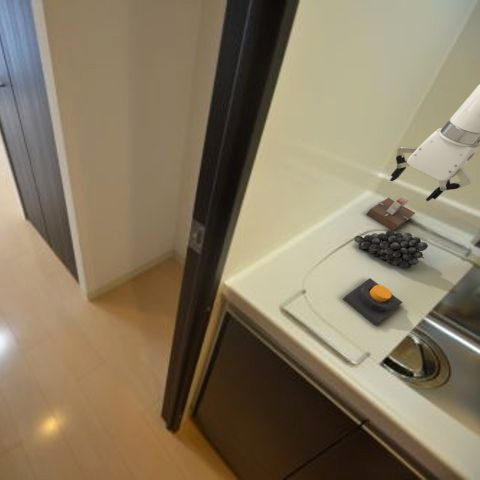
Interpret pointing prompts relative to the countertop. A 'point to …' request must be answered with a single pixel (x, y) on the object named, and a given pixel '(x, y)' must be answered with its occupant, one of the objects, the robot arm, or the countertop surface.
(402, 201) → the lock knob
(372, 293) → the bell button
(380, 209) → the lock plate
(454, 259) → the countertop surface
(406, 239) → the fruit
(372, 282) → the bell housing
